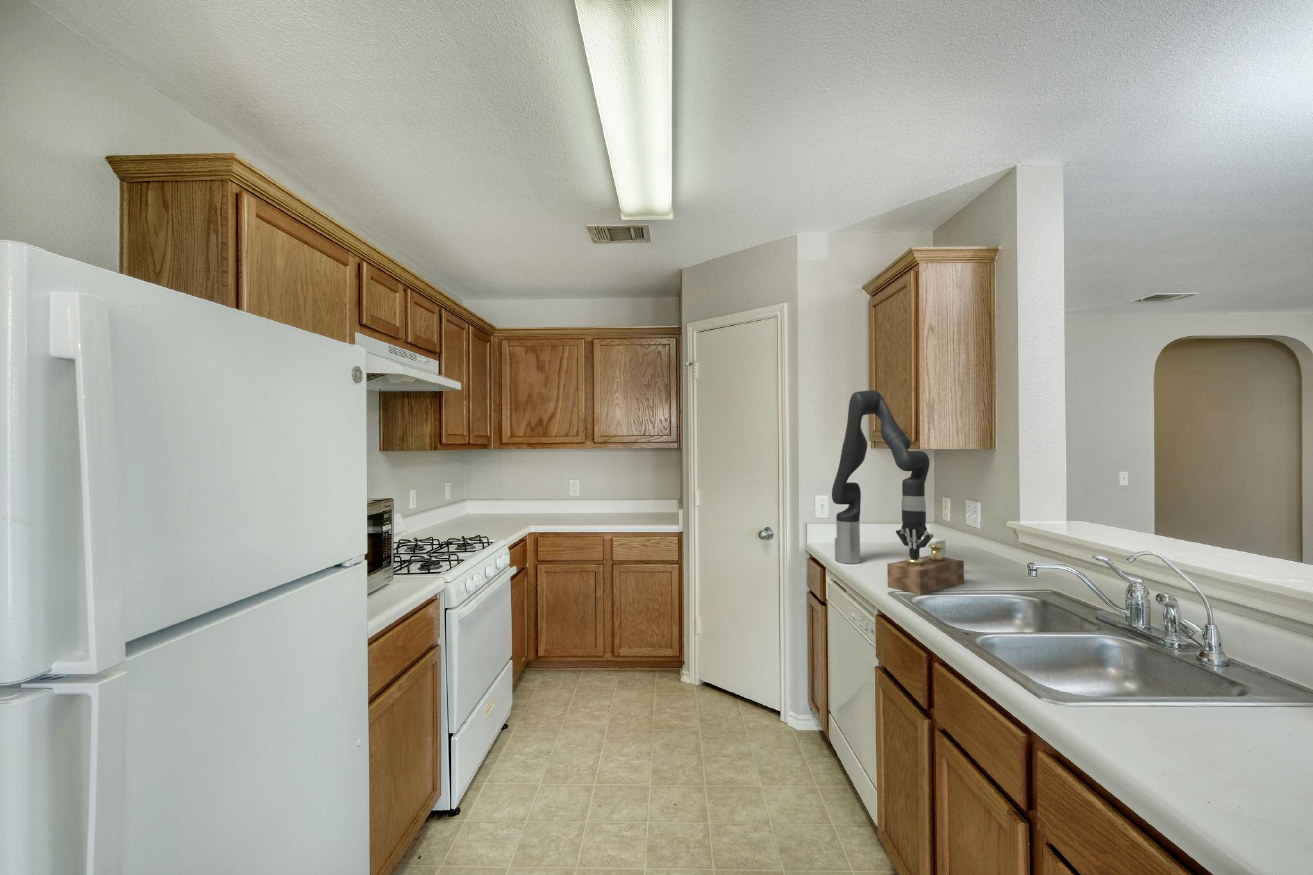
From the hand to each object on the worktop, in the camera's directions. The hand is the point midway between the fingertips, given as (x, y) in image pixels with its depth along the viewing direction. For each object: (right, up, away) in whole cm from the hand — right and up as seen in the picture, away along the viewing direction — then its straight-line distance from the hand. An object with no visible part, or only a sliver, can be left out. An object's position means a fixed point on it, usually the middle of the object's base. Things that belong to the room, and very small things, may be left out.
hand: (914, 559), depth 186 cm
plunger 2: (+11, -5, +7) cm, 14 cm away
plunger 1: (0, -8, 0) cm, 8 cm away
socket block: (+6, -10, +3) cm, 12 cm away
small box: (+16, -10, +20) cm, 28 cm away
